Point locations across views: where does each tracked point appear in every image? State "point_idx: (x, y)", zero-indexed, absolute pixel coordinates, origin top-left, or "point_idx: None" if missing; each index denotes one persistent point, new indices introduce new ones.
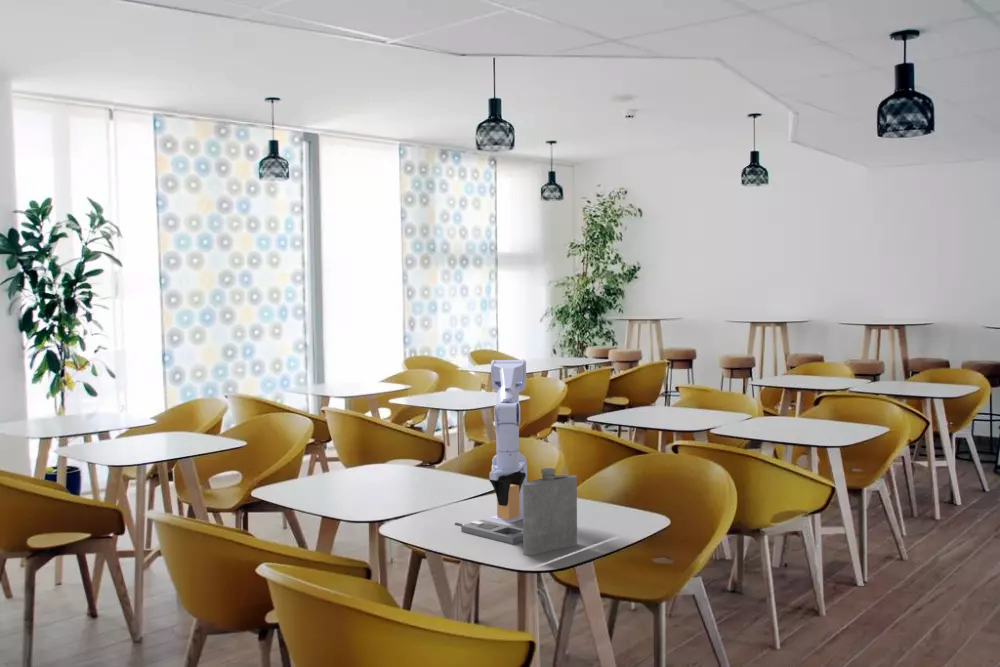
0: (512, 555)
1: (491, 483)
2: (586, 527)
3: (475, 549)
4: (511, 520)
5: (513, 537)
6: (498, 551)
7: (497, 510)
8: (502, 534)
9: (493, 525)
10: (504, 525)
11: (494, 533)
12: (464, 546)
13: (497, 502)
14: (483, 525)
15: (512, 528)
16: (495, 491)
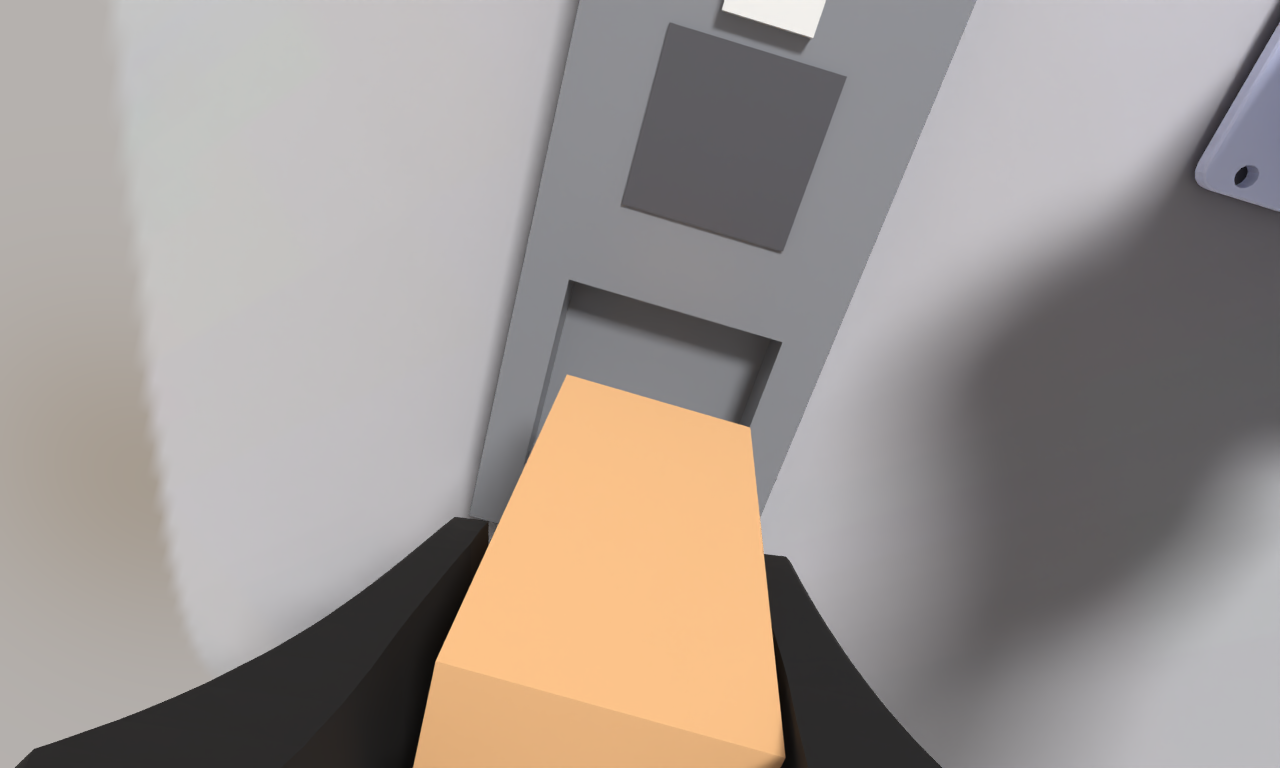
0: (303, 551)
1: (110, 727)
2: (1184, 760)
3: (254, 254)
4: (1270, 160)
5: (491, 513)
6: (321, 437)
7: (549, 414)
8: (526, 399)
9: (777, 183)
10: (830, 287)
11: (519, 320)
12: (263, 117)
13: (525, 471)
14: (734, 71)
15: (760, 397)
16: (303, 636)
